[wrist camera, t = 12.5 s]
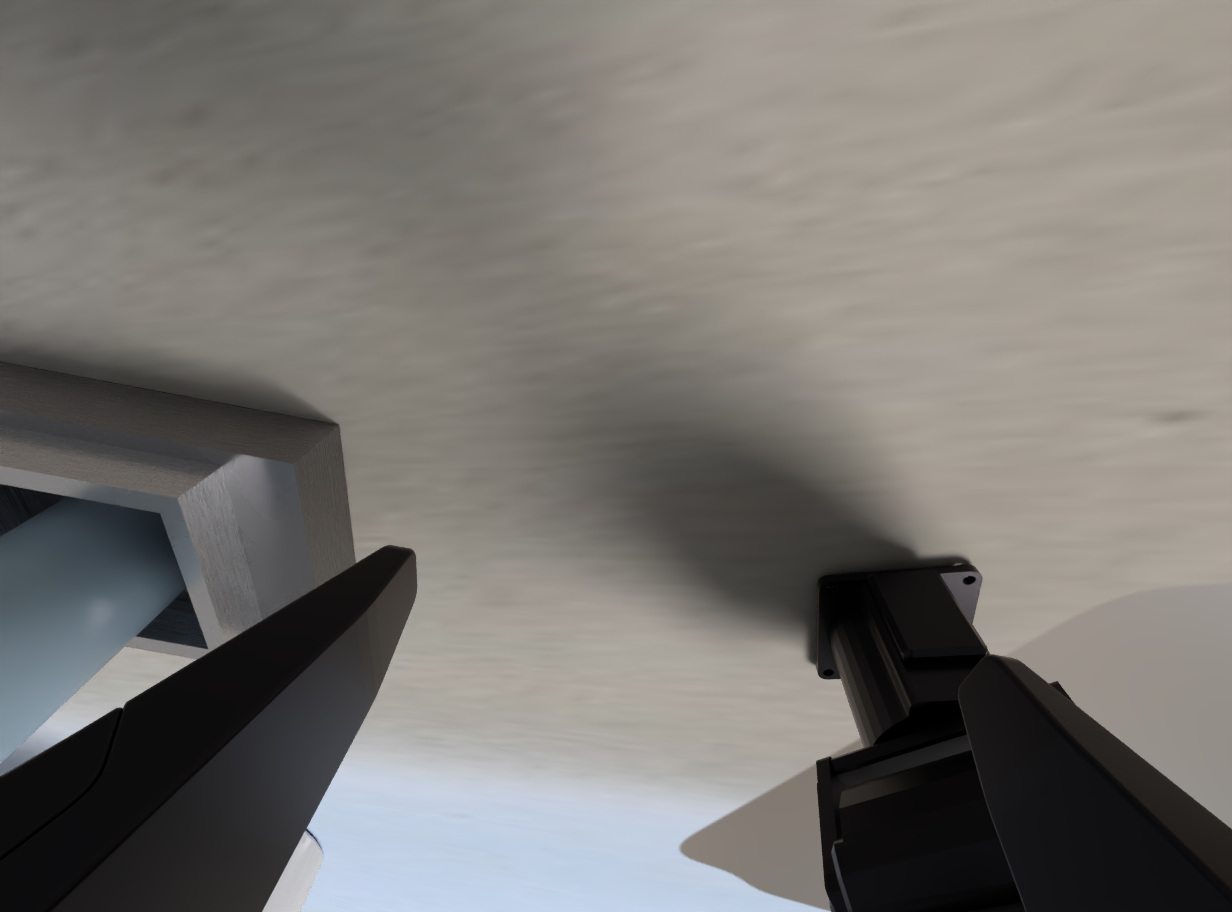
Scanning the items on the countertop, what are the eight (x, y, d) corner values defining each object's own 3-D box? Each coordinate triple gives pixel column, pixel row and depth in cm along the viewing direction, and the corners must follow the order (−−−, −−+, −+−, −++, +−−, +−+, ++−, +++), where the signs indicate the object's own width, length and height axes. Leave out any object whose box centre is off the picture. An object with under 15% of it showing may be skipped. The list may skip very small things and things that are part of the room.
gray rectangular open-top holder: (339, 425, 21) (255, 496, 17) (360, 599, 26) (300, 687, 22) (-10, 360, 21) (-185, 415, 16) (80, 548, 26) (-36, 627, 22)
